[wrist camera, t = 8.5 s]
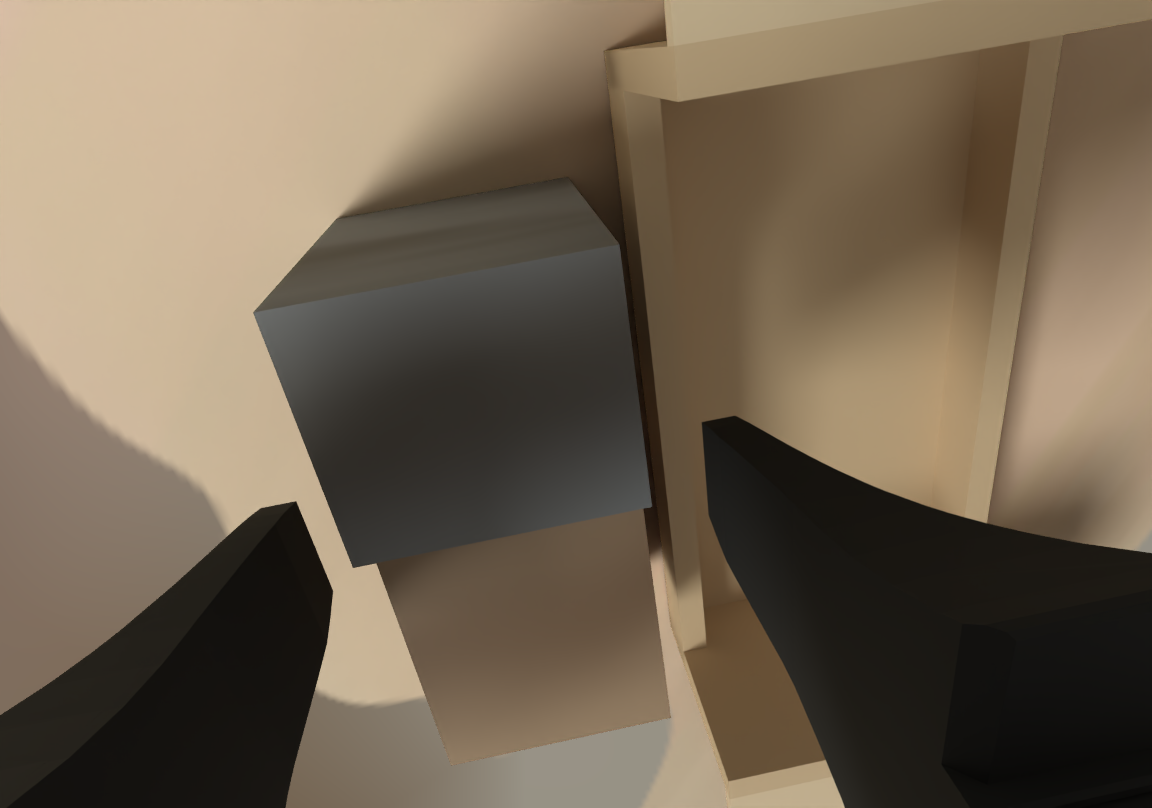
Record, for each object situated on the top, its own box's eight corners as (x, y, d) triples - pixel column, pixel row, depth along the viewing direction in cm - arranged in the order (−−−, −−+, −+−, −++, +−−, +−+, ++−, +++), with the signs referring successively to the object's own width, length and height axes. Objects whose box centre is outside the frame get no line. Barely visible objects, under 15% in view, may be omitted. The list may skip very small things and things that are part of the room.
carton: (930, 646, 21) (1053, 806, 16) (679, 700, 20) (735, 879, 16) (1037, -229, 11) (1394, -414, 7) (579, -157, 11) (648, -303, 7)
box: (627, 571, 18) (684, 761, 13) (456, 606, 18) (449, 814, 13) (567, 177, 13) (619, 244, 8) (336, 218, 13) (252, 312, 8)
